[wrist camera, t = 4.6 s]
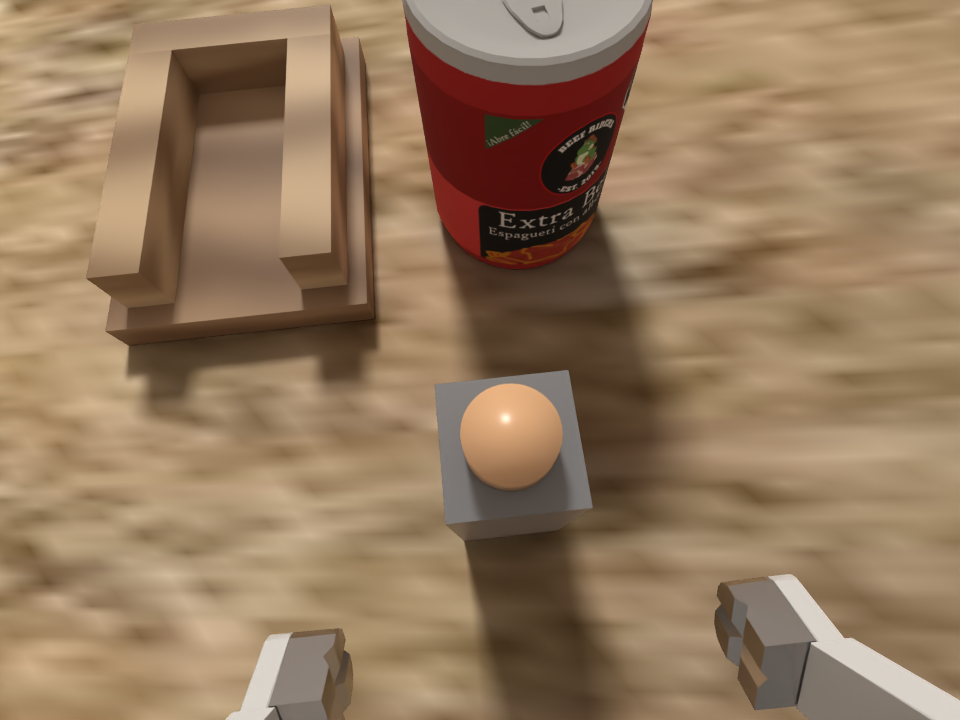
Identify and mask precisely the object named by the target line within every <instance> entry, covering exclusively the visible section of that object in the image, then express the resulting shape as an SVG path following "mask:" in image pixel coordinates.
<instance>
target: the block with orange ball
mask: <svg viewBox="0 0 960 720" xmlns="http://www.w3.org/2000/svg"><path fill="white" fill-rule="evenodd" d="M435 395H436V408H437V421H438V434H439V446H440V459H441V472H442V484H443V497H444V510H445V523H446V525H447V526H448V527H449V528H450V529H451V530H452V531H454V532H455V533H456V534H457V535H458V536H459V537H460V538H461V539H462V540H464V541H470V540H479V539H488V538H496V537H505V536H514V535H523V534H532V533H541V532H550V531H558V530H560V529H561V528H563V527H564V526H566V525H567V524H569V523H570V522H572V521H573V520H575V519H576V518H578V517H580V516H581V515H583V514H584V513H586V512H587V511H589V510H590V509H592V508H593V505H592V500H591V494H590V489H589V483H588V477H587V472H586V466H585V461H584V455H583V449H582V444H581V438H580V432H579V427H578V421H577V416H576V410H575V404H574V399H573V393H572V388H571V382H570V376H569V371H568V370H563V371H554V372H545V373H536V374H527V375H517V376H508V377H499V378H490V379H481V380H472V381H463V382H454V383H444V384H435Z"/></svg>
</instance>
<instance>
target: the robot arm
mask: <svg viewBox="0 0 960 720" xmlns="http://www.w3.org/2000/svg"><path fill="white" fill-rule="evenodd" d="M717 597H718V599H719V601H720V602H721V605H720V606H719V607H718V608H717V609H716V611H715V619H714V624H715V629H716V635H717V638H718V641H719V643H720V646H721V648H722V650H723V652H724V654H725V656H726V658H727V659H728V660H730V661H731V662H732V663H734V664H735V665H737V666H738V667H739V670H738V678H737V679H738V681H739V682H740V684H741V686H742V688H743V690H744V692H745V694H746V695H747V697H748V699H749V701H750V703H751V705H752V707H753V708H754V710H761V709H772V708H783V707H794V706H797V709H798V710H799V711H800V712H801V713H803V714H804V715H805V716H806V717H807V718H808V719H810V720H960V700H958V699H956V698H955V697H953V696H951V695H950V694H948V693H946V692H944V691H943V690H941V689H939V688H937V687H936V686H934V685H932V684H931V683H929V682H927V681H925V680H924V679H922V678H920V677H918V676H917V675H915V674H913V673H912V672H910V671H908V670H906V669H905V668H903V667H901V666H899V665H898V664H896V663H894V662H893V661H891V660H889V659H887V658H886V657H884V656H882V655H881V654H879V653H877V652H875V651H874V650H872V649H870V648H868V647H867V646H865V645H863V644H862V643H860V642H858V641H856V640H855V639H853V638H844V637H843V636H842V635H841V633H840V632H839V631H838V630H837V628H836V627H835V626H834V625H833V623H832V622H831V621H830V620H829V618H828V617H827V616H826V615H825V613H824V612H823V611H822V609H821V608H820V607H819V606H818V604H817V603H816V602H815V601H814V599H813V598H812V597H811V596H810V594H809V593H808V592H807V591H806V589H805V588H804V587H803V586H802V584H801V583H800V582H799V581H798V579H797V578H796V577H794V576H793V575H791V574H786V575H778V576H770V577H759V578H751V579H744V580H736V581H729V582H721V583H720V585H719V586H718V590H717ZM345 640H346V639H345V636H344V633H343V630H342V629H340V628H337V629H326V630H315V631H303V632H293V633H285V634H275V635H269V637H268V638H267V640H266V641H265V642H264V645H263V647H262V650H261V653H260V656H259V659H258V661H257V664H256V667H255V670H254V672H253V675H252V678H251V681H250V684H249V686H248V689H247V692H246V695H245V698H244V700H243V703H242V706H241V709H240V711H237V712H232V713H231V714H230V715H229V716H228V717H227V718H226V719H225V720H345V718H344V714H343V712H344V711H345V710H346V709H347V707H348V706H349V705H350V703H351V697H352V690H353V668H352V661H351V657H350V654H348V653H347V652H346V651H344V646H345Z"/></svg>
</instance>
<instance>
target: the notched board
mask: <svg viewBox="0 0 960 720" xmlns="http://www.w3.org/2000/svg"><path fill="white" fill-rule="evenodd" d="M86 279H88V280H89V281H90V282H92V283H93V284H95V285H96V286H97V287H99V288H100V289H102V290H103V291H104V292H106V293H107V294H109V295H110V296H111V301H110V307H109V313H108V319H107V325H106V332H107V333H109V334H111V335H112V336H114V337H115V338H117V339H119V340H120V341H122V342H124V343H125V344H127V345H137V344H146V343H155V342H164V341H174V340H183V339H192V338H202V337H211V336H220V335H229V334H239V333H248V332H257V331H267V330H276V329H285V328H294V327H304V326H313V325H322V324H331V323H341V322H350V321H359V320H369V319H375V318H374V290H373V263H372V235H371V208H370V180H369V153H368V126H367V98H366V71H365V59H364V55H363V51H362V48H361V44H360V40H359V37H352V38H342V39H340V37H339V33H338V30H337V26H336V23H335V20H334V16H333V13H332V9H331V6H330V5H323V6H313V7H303V8H293V9H283V10H273V11H263V12H254V13H244V14H234V15H224V16H214V17H204V18H194V19H184V20H174V21H164V22H154V23H144V24H134V29H133V34H132V39H131V45H130V50H129V55H128V60H127V66H126V71H125V76H124V81H123V87H122V92H121V97H120V102H119V108H118V113H117V118H116V123H115V129H114V134H113V139H112V144H111V150H110V155H109V160H108V165H107V171H106V176H105V181H104V186H103V191H102V197H101V202H100V207H99V212H98V218H97V223H96V228H95V233H94V239H93V244H92V249H91V254H90V260H89V265H88V270H87V275H86Z"/></svg>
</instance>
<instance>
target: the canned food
mask: <svg viewBox="0 0 960 720" xmlns="http://www.w3.org/2000/svg"><path fill="white" fill-rule="evenodd" d="M402 1H403V7H404V13H405V19H406V27H407V35H408V41H409V47H410V53H411V59H412V64H413V70H414V76H415V82H416V88H417V94H418V100H419V105H420V111H421V117H422V123H423V129H424V135H425V140H426V146H427V152H428V158H429V164H430V170H431V176H432V181H433V187H434V193H435V199H436V204H437V210H438V213H439V215H440V218H441V220H442V222H443V224H444V226H445V227H446V229H447V230H448V231H449V233H450V234H451V236H452V237H453V238H454V240H455V241H456V243H457V244H458V245H459V246H461V247H462V248H463V249H464V250H465V251H466V252H467V253H468V254H470V255H472V256H473V257H475V258H477V259H478V260H480V261H482V262H485V263H487V264H490V265H493V266H497V267H502V268H507V269H528V268H534V267H539V266H542V265H545V264H548V263H550V262H553V261H555V260H556V259H558V258H560V257H561V256H563V255H565V254H566V253H567V252H568V251H569V250H570V249H571V248H573V247H574V246H575V245H576V244H577V243H578V242H579V240H580V239H581V238H582V237H583V236H584V234H585V233H586V231H587V230H588V228H589V227H590V225H591V223H592V220H593V218H594V215H595V213H596V209H597V206H598V202H599V199H600V195H601V192H602V188H603V185H604V181H605V178H606V174H607V171H608V167H609V164H610V160H611V157H612V153H613V149H614V146H615V142H616V139H617V135H618V132H619V128H620V125H621V121H622V118H623V114H624V111H625V107H626V104H627V100H628V97H629V93H630V90H631V86H632V83H633V79H634V76H635V72H636V69H637V65H638V62H639V58H640V55H641V51H642V47H643V42H644V38H645V34H646V31H647V27H648V23H649V20H650V16H651V10H652V2H653V0H402Z"/></svg>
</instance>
